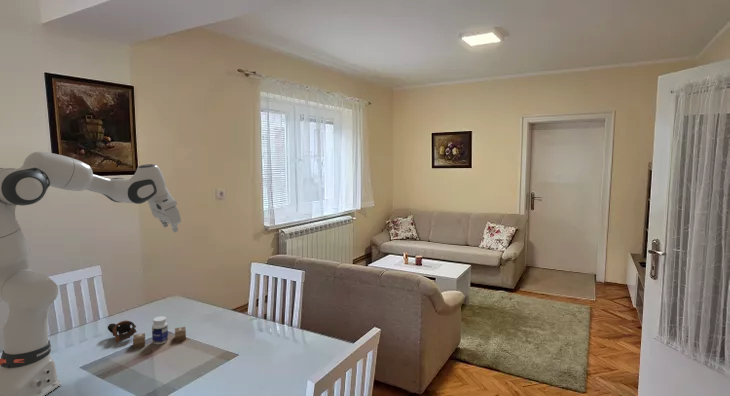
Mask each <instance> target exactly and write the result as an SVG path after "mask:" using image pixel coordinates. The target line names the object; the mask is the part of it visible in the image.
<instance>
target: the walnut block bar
mask: <svg viewBox="0 0 730 396" xmlns="http://www.w3.org/2000/svg"><path fill="white" fill-rule="evenodd" d="M186 331H187V330H186V326H181V327H175V328H174V339H175V340H174V342H178V341H185V340H186V339H187V338H186V337H187V332H186Z"/></svg>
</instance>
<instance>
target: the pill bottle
mask: <svg viewBox="0 0 730 396" xmlns="http://www.w3.org/2000/svg"><path fill="white" fill-rule="evenodd" d="M152 321H153V323H152V325H151V333H152V334H151V335H152V336H151V337H152V343H153V344H154V345H162V344H165V343H166V342H168V340H169V333H168V332H169V330H168V329H169V328H168V327H169V326H168V322H166V321H167V316H163V315H162V316H161V315H160V316H156V317H154V318H153V320H152Z"/></svg>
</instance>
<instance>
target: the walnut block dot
mask: <svg viewBox="0 0 730 396" xmlns="http://www.w3.org/2000/svg"><path fill="white" fill-rule="evenodd" d="M144 347H146V333H145V332H144V333H135V334H133V335H132V348H133V349H138V348H144Z"/></svg>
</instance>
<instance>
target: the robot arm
mask: <svg viewBox="0 0 730 396" xmlns="http://www.w3.org/2000/svg"><path fill="white" fill-rule="evenodd" d="M49 187H52V188H55V189H60V190H66V191H74V192H82V191H85V190H86V191H89V192H90V191H91V192H94V193H97V194H101V195H102V196H105V197H106V198H107V199H109V200H110V201H112V202H113V203H125V204H136V205H140V204H143V203H145V202H148V205H149V208H150V211H151V214H152V215H153V217H154V218H157V219H158V220H159V222H160V223H161V225H162V227H163V228H167V227H169V225H170V226H171V227H172V228H171V230H172V232H173V233H177V232H179V229H178V225H179V224H180V223H181V221H182V219H181V214H180V212H179V211H180V210H179V209H178V206H177V205H178V202H177V200H176V199H174V198H173V196H172V195H171V194H170V193H171V192H170V191H169V189H168V187H167V185H166V179H165V177H164V174H163V172H162V171H161V169H160V167H159V166H158V165H156V164H155V163H154V164H152V163H151V164H141V165H139V166H137V168H136V171H135V172H134V174H133V175H132V176H131V177H130V178H123V177H112V178H106V177H104V176H101V175H97V174H94V172H93V169H92V167H91V166H90V165H89V164H88V163H85V162H83V161H82V160H79V159H76V158H73V157H70V156H66V155H62V154H57V153H53V152H47V151H46V152H45V151H34V152H32V153H30V154H28V156H26V158H25V159H24V162H23V164H22V166H21V167H18V168H14V167H13V168H12V167H0V302H2V303H5V304H7V305H8V314H7V315H8V316H7V320H6V322H5V323H4V325H3V326H2V329H1V331H2V339H3V340H2V342H3V350H2V352H1V356H0V396H44V395H46V394H47V393H49V392H50V391H52V390H53V389H55V388H56V387H58V386H60V385H61V386H62V382H61V380H59V379H58V374H57V369H56V364H55V361H54V359H53V358H52V356H51V352H52V345H51V341H50V339H49V328H48V327H49V325H48V323H49V322H48V318H49V314H50V309H51V306H52V304H53V303H54V302H55V300H56V299H57V297H58V295H59V286H58V285H57V283H56V282H55V281H54V280H53V279H51V278H50V277H49V276H47V275H45V274H41V273H38V272H35V271H34V270H33V269H32V268H31V265H30V260H29V259H30V258H29V254H30V252H31V251H30V250H31V249H30V247H29V243H28V242H27V240H26V237H25V235H24V232H23V231H22V228H21V226H20V224H19V223H18V220H17V219H16V217H17V216H16V208H17V206H29V205H30V206H31V205H33V204H36V203H38V202H39V201H41V200H42V198H44V196H45V195H46V194H47V193H46V192H47V190H48V189H49ZM61 386H60V387H61ZM58 388H59V387H58ZM55 390H56V389H55ZM52 392H53V391H52ZM49 394H50V393H49ZM46 396H47V395H46Z"/></svg>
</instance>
